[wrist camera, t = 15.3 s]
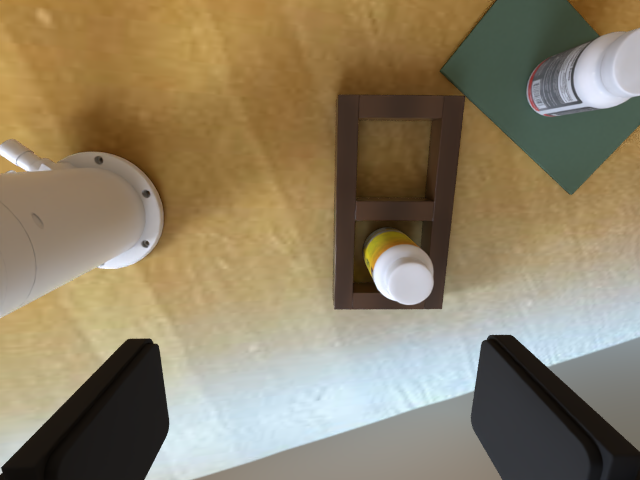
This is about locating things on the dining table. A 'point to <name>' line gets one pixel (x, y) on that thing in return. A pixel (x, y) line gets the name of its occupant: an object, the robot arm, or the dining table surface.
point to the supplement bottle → (398, 266)
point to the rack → (429, 209)
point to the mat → (512, 78)
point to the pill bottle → (588, 76)
